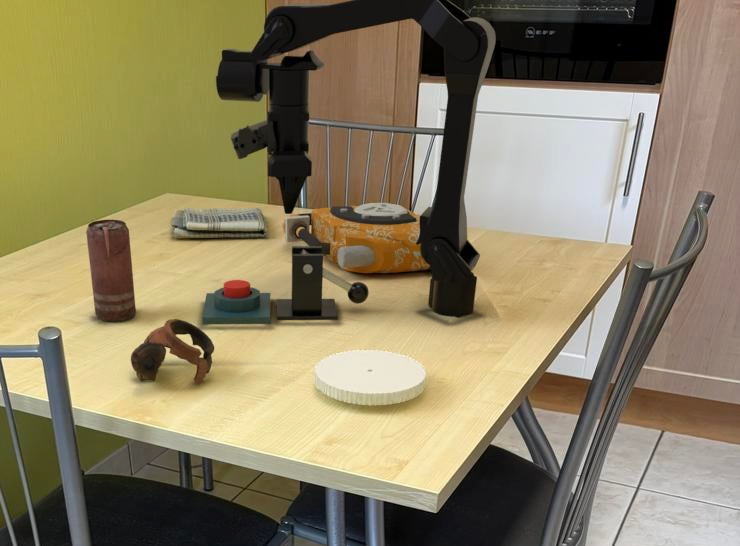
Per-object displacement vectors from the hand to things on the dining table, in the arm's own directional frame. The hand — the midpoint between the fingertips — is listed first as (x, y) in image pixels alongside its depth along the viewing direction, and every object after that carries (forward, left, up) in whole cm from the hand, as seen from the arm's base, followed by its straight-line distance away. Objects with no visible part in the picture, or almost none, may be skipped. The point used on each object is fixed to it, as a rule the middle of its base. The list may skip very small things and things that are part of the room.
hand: (288, 213), depth 142 cm
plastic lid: (-36, +13, -13) cm, 40 cm away
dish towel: (+41, -13, -13) cm, 46 cm away
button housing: (-3, +12, -13) cm, 18 cm away
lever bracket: (-9, +3, -13) cm, 16 cm away
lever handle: (-11, 0, -9) cm, 14 cm away
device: (+8, -22, -13) cm, 27 cm away
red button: (-3, +12, -10) cm, 15 cm away
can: (+7, +27, -13) cm, 31 cm away
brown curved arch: (-18, +32, -13) cm, 39 cm away
